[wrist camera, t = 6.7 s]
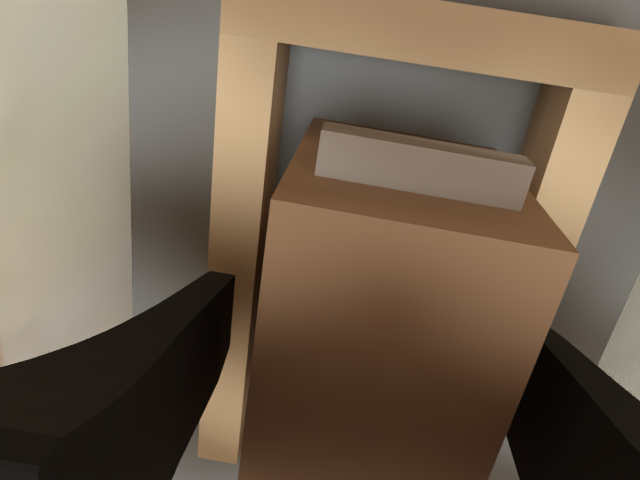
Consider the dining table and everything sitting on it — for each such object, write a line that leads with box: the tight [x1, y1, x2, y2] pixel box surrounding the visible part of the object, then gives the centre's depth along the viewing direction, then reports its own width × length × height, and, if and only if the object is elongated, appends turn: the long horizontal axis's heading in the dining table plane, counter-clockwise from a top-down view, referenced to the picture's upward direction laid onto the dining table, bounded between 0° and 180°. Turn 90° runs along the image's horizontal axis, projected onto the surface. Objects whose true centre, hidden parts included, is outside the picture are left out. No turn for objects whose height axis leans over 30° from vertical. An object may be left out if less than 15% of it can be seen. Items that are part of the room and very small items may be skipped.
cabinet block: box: [238, 117, 580, 480], centre depth 12 cm, size 9×5×6 cm, turn 172°
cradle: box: [127, 0, 640, 480], centre depth 14 cm, size 20×14×3 cm
